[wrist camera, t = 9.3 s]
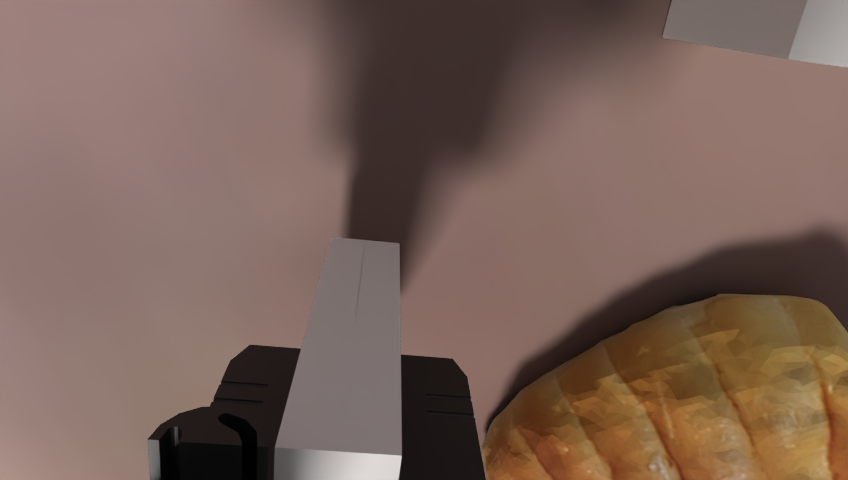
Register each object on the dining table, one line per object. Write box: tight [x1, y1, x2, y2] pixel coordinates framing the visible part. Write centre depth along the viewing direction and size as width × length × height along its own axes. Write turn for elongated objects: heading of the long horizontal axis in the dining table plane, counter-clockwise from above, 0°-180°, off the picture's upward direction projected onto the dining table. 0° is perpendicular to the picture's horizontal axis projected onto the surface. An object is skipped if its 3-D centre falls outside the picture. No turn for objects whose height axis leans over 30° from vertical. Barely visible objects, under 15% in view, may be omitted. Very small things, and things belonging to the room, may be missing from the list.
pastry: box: [482, 294, 848, 480], centre depth 15 cm, size 9×7×4 cm
